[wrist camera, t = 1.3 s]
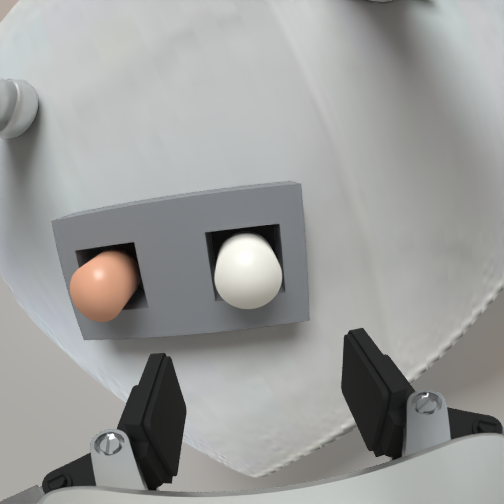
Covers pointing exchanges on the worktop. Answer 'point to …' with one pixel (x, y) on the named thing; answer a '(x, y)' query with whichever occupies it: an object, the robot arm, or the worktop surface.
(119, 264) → the terracotta button
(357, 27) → the worktop surface
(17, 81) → the plastic bottle
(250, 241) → the ivory button
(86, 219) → the grey two-hole block
